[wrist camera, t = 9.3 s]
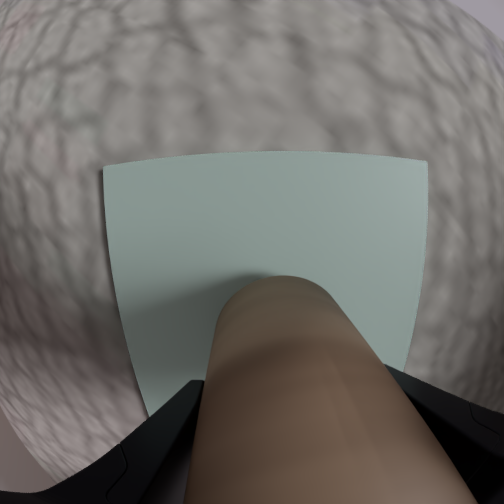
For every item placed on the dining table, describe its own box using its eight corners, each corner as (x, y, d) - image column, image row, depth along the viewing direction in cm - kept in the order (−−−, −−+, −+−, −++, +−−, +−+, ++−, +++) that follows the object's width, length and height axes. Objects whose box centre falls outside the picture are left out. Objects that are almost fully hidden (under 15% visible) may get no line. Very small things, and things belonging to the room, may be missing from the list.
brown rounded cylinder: (335, 379, 11) (409, 558, 2) (220, 387, 11) (202, 590, 2) (346, 272, 10) (534, 452, 1) (209, 278, 10) (116, 551, 1)
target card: (386, 405, 14) (390, 411, 13) (155, 421, 14) (153, 427, 13) (420, 162, 11) (427, 161, 10) (109, 167, 10) (103, 166, 10)
